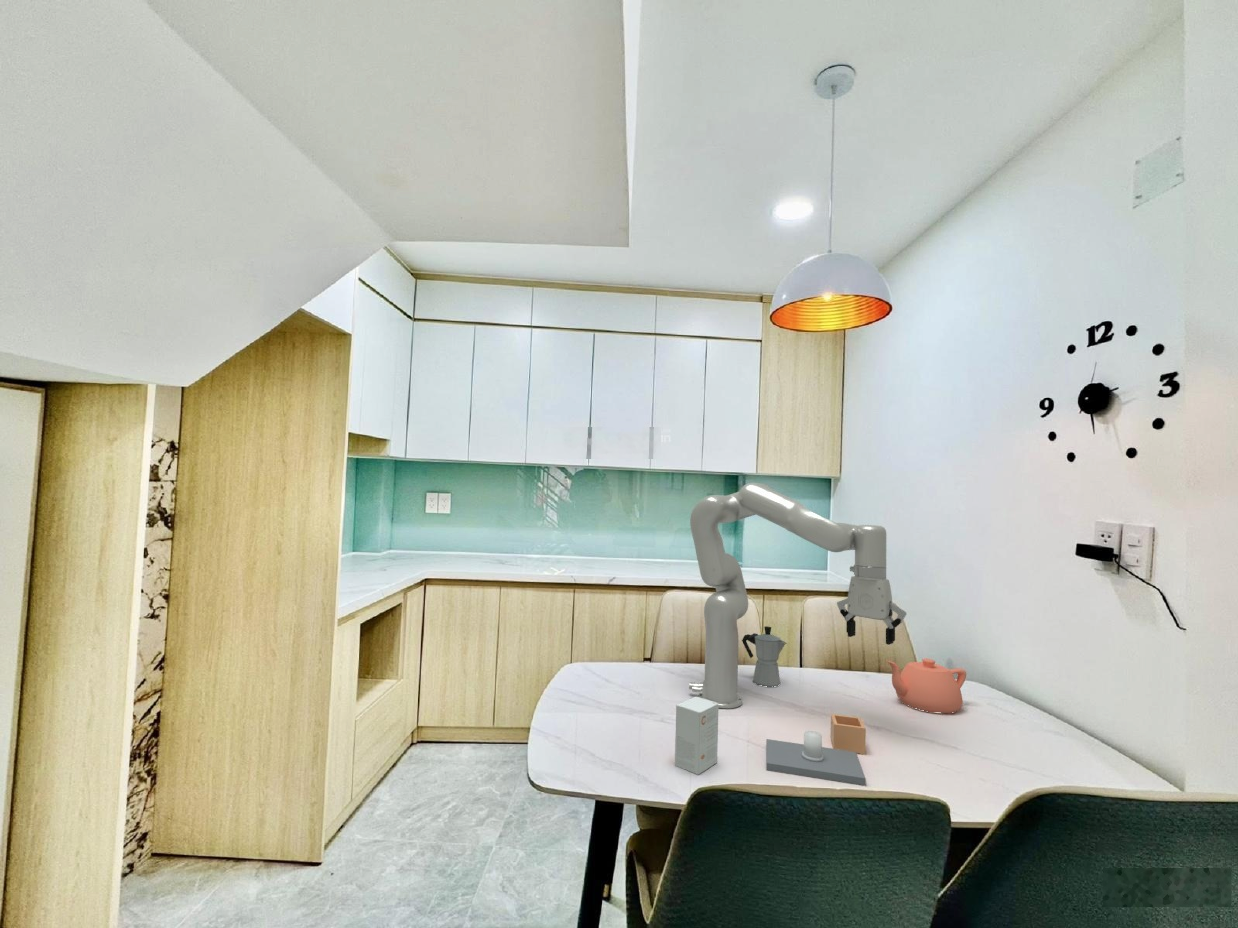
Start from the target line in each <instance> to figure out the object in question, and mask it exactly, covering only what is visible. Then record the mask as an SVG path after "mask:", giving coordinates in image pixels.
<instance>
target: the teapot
mask: <svg viewBox="0 0 1238 928" xmlns="http://www.w3.org/2000/svg"><path fill="white" fill-rule="evenodd" d="M886 663H888V664H889V665H890V667H891V684H892V686H893V688H894V690H895V693H896V695H897V697H898V699H899V700H900V701H901V702H902V703H903V704H904V703H905V704H906V706H907V705H909V706H911V707H913V708H917V709H920V710H924V711H928V712H927V713H929V712H941V713H951V714H953V713H952V712H955V713H957V712H958V711H959V710H960V709H961V708H962V706H963V694H962V691H961V688H962V686H963V685H964V683H965V681H966V680H967V679H966V678H967V672H966V670H965V669H963V668H952V669H949V668H948V667H945V666H943V665H940V664H936V661H935V660H934V659H932V658H922V659H921V661H911V662H908V663H907V664H906V665H905V666H904V668H903V669H902V671H901V672H900V668H899V666H898V664H897V663H896V662H893V661H890V660H886ZM955 674H957V678H955V676H954V675H955ZM905 704H904V705H905ZM909 706H908V707H909ZM911 707H910V708H911ZM913 708H912V709H913ZM956 711H957V712H956Z"/></svg>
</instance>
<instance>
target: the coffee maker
mask: <svg viewBox="0 0 1238 928" xmlns="http://www.w3.org/2000/svg"><path fill="white" fill-rule="evenodd" d="M763 628H764V633H762V634H761V633H760V634H758V633H754V632H753V633H752V634H745V635H744V636H743V638H742V639H741V642H742V644H743V647H744V648H745V650H746V653H747V654H748V657H749V659H752V658H753V657H754V655H753V652H752V650H751V648H750V646H749V644H748V642H750V644H751V643H752V644H753V645H755V655H756V659H757V660H756V661H755V662H756V663H755V668H754V673H753V678H752V683H753V684H755V683H756V684H757V685H756V684H755V685H756V686H759V685H762V686H761V687H763V686H767V687H766V688H775V687H774V686H778V685H779V684H780V685H781V680H780V672H779V671H780V670H779V663H778V662H777V661H778V660H779V658H780V653H781V652H782V650H783V649H784V647H785V645H787V644H788V643H787V642H786V641H784V640H782V639H781V638H780V637H778V636H776V635H774V634H772V633H771V631H772V627H771V626H764V627H763ZM780 685H779V686H780ZM772 686H773V687H772ZM779 686H778V687H779Z"/></svg>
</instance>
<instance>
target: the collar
mask: <svg viewBox="0 0 1238 928" xmlns="http://www.w3.org/2000/svg"><path fill="white" fill-rule="evenodd" d="M866 732H867V731H866V725H865V724H864V721H863V720H862V717H859V716H850V715H842V714H834V713H830V733H829V734H830V735H829V736H830V738H831V739H830V742H831V745H832V749H839V750H846V751H853V752H856V753H860V754H859V755H863V754H865V755H866V737H867V735H866V734H867V733H866Z"/></svg>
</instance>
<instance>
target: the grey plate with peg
mask: <svg viewBox="0 0 1238 928" xmlns="http://www.w3.org/2000/svg"><path fill="white" fill-rule="evenodd" d="M765 741H766V742H765V743H766V747H765V749H766V750H765V753H766V754H765V755H766V763H765V765H766V769H765V770H766V771H768V772H769V771H771V772H775V773H776V772H777V773H782V774H783V773H784V774H788V775H789V774H790V775H795V776H803V777H807V778H813V779H821V780H827V781H831V782H832V781H834V782H839V783H840V782H841V783H846V784H853V785H857V784H860V785H859V786H864V785H865V786H866V784H867V783H866V778H867V777H866V775H865V772H864V770H863V767H862V764H861V763H860V759H859V757H858V754H857V753H856V752H853V751H846V750H839V749H833V747H832V748H831V747H824V746H822V745H823V735H822V734H821V733H820V732H818V731H813V730H805V731H804V732H803V743H796V742H790V741H783V740H776V739H767V738H766V740H765ZM865 786H864V787H865Z"/></svg>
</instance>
